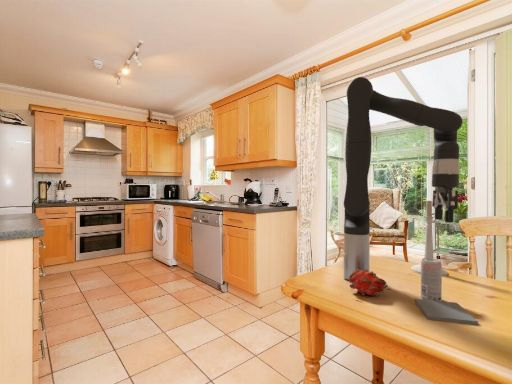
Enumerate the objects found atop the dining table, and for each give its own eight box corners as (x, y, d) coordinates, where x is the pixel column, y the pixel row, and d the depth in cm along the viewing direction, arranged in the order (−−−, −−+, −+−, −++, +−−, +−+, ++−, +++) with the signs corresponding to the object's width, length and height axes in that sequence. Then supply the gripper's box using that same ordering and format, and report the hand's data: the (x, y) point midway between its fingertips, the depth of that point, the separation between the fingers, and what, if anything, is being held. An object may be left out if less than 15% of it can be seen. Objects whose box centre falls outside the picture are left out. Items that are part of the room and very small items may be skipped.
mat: (428, 319, 70) (428, 316, 70) (414, 301, 82) (414, 298, 82) (478, 324, 67) (478, 321, 67) (456, 305, 79) (456, 302, 79)
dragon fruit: (345, 294, 91) (384, 305, 87) (346, 287, 84) (388, 298, 80) (349, 271, 95) (386, 280, 91) (350, 261, 89) (390, 271, 84)
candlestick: (404, 267, 119) (405, 199, 119) (433, 267, 120) (433, 199, 120) (424, 276, 106) (424, 200, 106) (455, 276, 107) (455, 200, 107)
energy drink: (438, 296, 85) (438, 258, 85) (444, 303, 80) (444, 263, 80) (419, 294, 87) (419, 257, 87) (423, 300, 82) (423, 261, 82)
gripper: (425, 174, 100) (423, 218, 100) (441, 171, 86) (439, 222, 86) (449, 174, 98) (447, 219, 98) (468, 172, 84) (466, 224, 84)
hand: (443, 220), depth 92 cm, fingers open, 8 cm apart
